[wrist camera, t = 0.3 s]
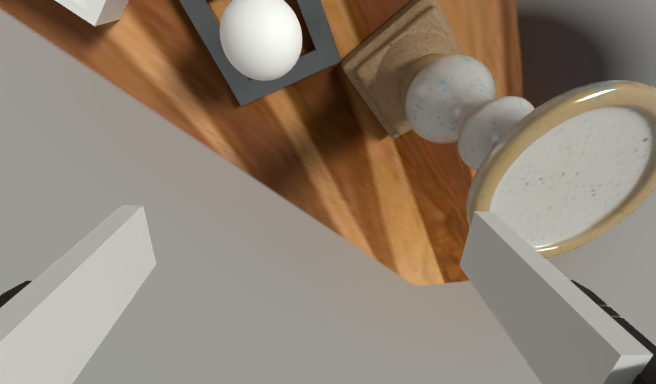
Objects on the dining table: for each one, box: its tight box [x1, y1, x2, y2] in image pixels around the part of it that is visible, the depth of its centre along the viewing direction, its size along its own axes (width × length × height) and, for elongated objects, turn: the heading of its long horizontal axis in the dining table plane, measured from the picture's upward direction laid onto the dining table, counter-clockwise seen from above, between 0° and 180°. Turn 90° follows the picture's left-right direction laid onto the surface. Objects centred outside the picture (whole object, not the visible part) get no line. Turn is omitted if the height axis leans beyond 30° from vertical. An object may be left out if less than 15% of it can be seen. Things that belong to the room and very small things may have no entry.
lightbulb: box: [220, 0, 302, 81], centre depth 26 cm, size 6×6×11 cm
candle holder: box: [340, 0, 656, 258], centre depth 25 cm, size 11×11×24 cm
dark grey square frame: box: [179, 0, 341, 106], centre depth 30 cm, size 12×12×1 cm
